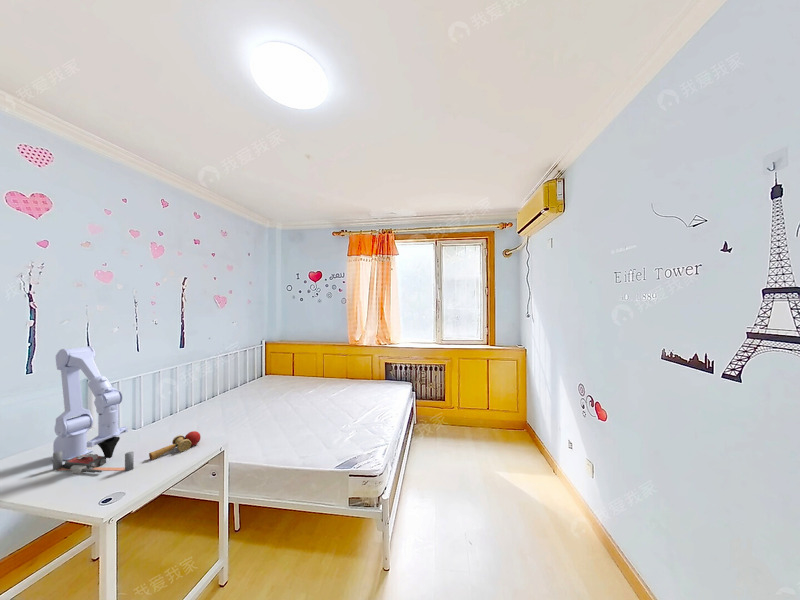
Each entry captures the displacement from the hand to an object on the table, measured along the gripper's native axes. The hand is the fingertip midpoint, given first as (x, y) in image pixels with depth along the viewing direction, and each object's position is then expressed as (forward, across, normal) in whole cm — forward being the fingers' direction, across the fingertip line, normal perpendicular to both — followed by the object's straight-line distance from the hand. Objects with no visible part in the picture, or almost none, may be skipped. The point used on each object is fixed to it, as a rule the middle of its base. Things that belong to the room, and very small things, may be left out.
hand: (108, 457), depth 121 cm
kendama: (+2, +9, -20) cm, 22 cm away
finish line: (+1, -6, 0) cm, 6 cm away
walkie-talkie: (+2, -5, +3) cm, 6 cm away
